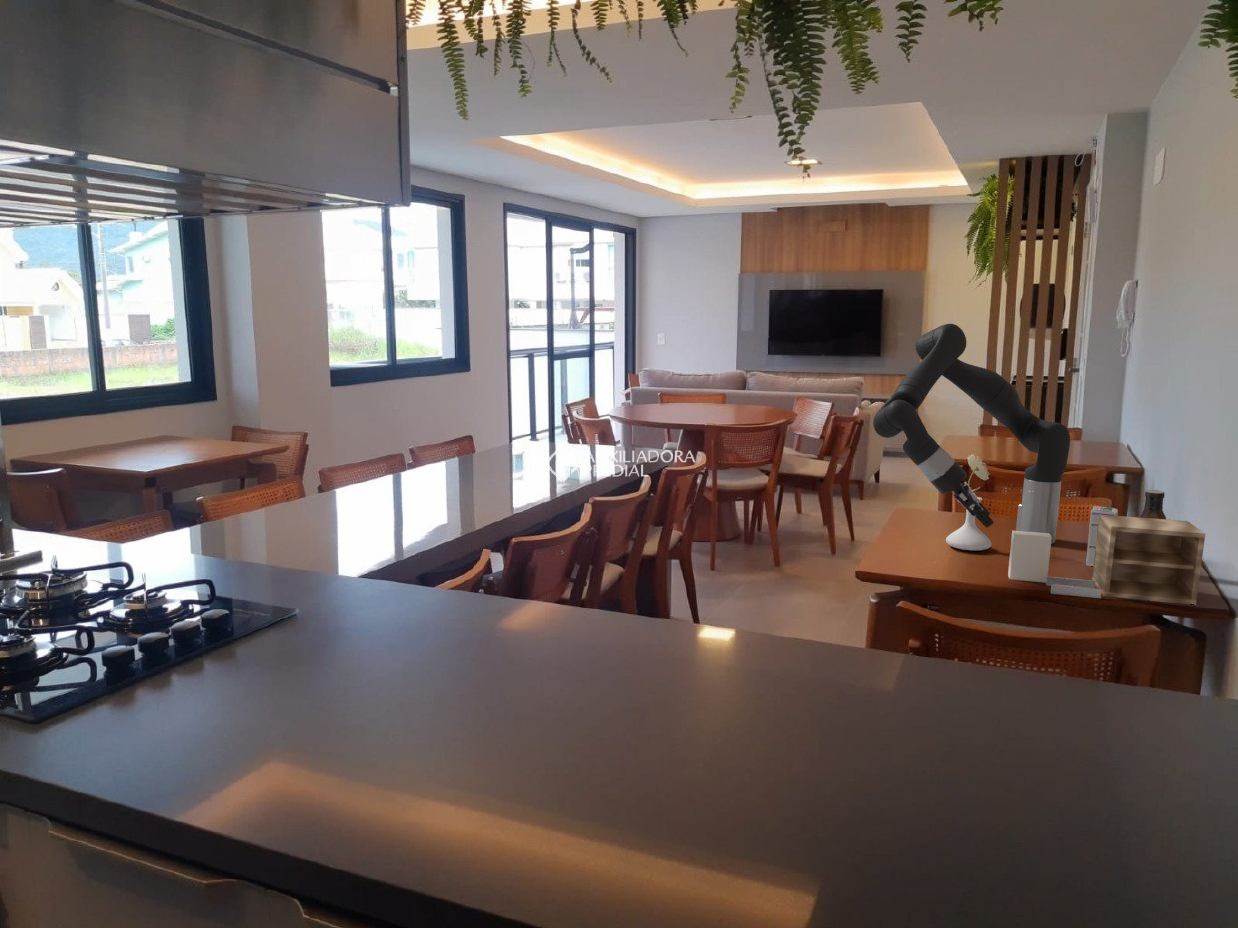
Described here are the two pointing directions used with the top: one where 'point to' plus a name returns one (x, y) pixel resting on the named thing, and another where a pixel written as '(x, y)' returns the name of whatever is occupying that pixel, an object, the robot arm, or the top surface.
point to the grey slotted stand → (1073, 587)
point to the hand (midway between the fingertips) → (988, 520)
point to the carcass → (1148, 559)
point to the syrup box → (1096, 530)
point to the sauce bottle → (1153, 505)
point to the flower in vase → (971, 517)
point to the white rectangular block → (1029, 556)
